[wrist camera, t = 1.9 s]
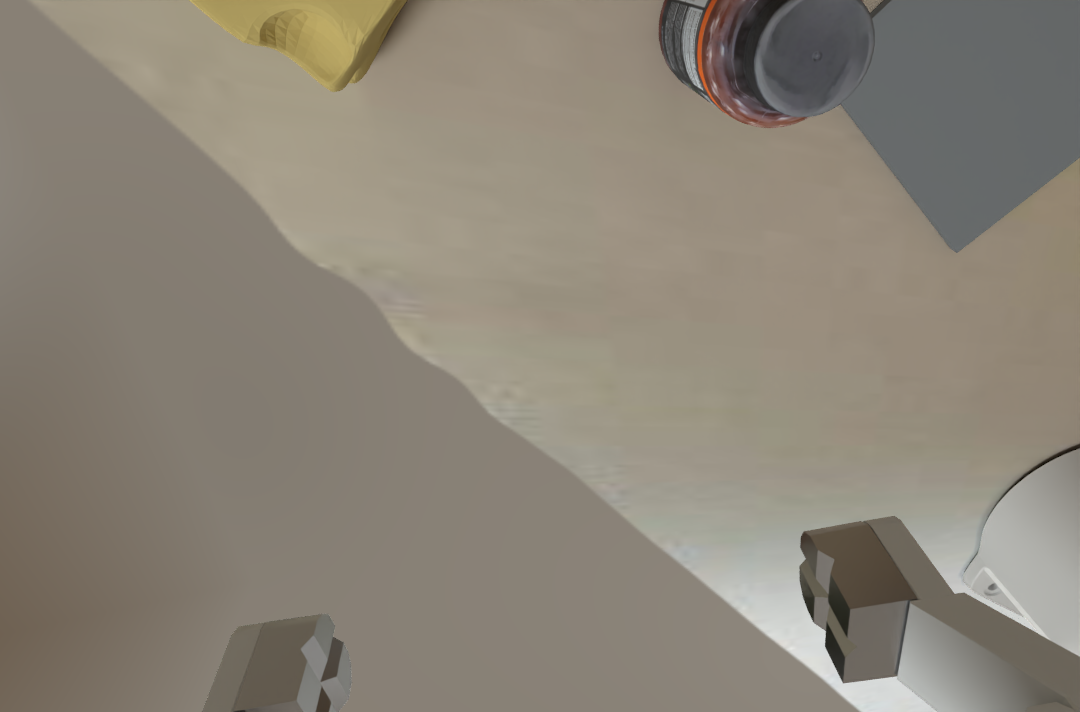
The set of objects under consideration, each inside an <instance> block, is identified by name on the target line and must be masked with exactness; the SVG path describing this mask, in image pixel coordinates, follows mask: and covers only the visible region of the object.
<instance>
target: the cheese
mask: <svg viewBox="0 0 1080 712" xmlns="http://www.w3.org/2000/svg"><path fill="white" fill-rule="evenodd" d="M189 1H191V2H192V3H193V4H194V5H195V6H197V7H198V8H199V9H200V10H201V11H203V12H204V13H205V14H206V15H207V16H208V17H210V18H211V19H212V20H213V21H215V22H216V23H217V24H218V25H220V26H221V27H222V28H223V29H225V30H226V31H227V32H229V33H230V34H232V35H233V36H235V37H236V38H238V39H239V40H241V41H242V42H244V43H248V44H252V45H256V46H265V47H269V48H272V49H275V50H277V51H279V52H281V53H283V54H284V55H286V56H287V57H289V58H290V59H292V60H293V61H294V62H295V63H297V64H298V65H299V66H300V67H302V68H303V69H304V70H305V71H306V72H307V73H309V74H310V75H311V76H312V77H313V78H314V79H315V80H317V81H318V82H319V83H320V84H321V85H323V86H324V87H325V88H327V89H328V90H330V91H332V92H337V91H340V90H342V89H343V88H345V87H346V85H347V84H348V83H357V82H358V81H359V80H361V79H362V78H363V76H364V75H365V74H366V73H367V71H368V69H369V68H370V66H371V64H372V62H373V60H374V58H375V56H376V54H377V52H378V50H379V48H380V46H381V44H382V42H383V40H384V38H385V36H386V34H387V32H388V30H389V28H390V26H391V25H392V23H393V21H394V19H395V18H396V16H397V15H398V13H399V12H400V10H401V9H402V7H403V6H404V4H405V3H406V2H407V0H189Z"/></svg>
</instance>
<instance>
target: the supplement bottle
mask: <svg viewBox="0 0 1080 712" xmlns="http://www.w3.org/2000/svg"><path fill="white" fill-rule="evenodd" d="M659 41H660V46H661V50H662V54H663V56H664V59H665V61H666V63H667V65H668V67H669V68H670V69H671V71H672V72H673V73H674V74H675V75H676V76H677V78H678V79H679V80H680V81H681V82H682V83H684V84H685V85H687V86H688V87H689V88H691V89H692V90H693V91H695V92H696V93H698V94H699V95H700V96H702V97H703V98H705V99H706V100H707V101H708V102H710V103H712V104H713V105H715V106H716V107H717V108H719V109H720V110H721V111H723V112H724V113H726V114H728V115H729V116H731V117H732V118H734V119H736V120H738V121H740V122H742V123H745V124H749V125H752V126H756V127H764V128H776V127H784V126H788V125H792V124H795V123H798V122H800V121H803V120H805V119H807V118H809V117H811V116H817V115H820V114H823V113H825V112H827V111H829V110H831V109H833V108H835V107H836V106H838V105H840V104H841V103H842V102H843V101H844V100H846V99H847V98H848V97H849V96H850V95H851V94H852V93H853V92H854V91H855V89H856V88H857V87H858V86H859V84H860V83H861V81H862V80H863V78H864V76H865V75H866V73H867V70H868V68H869V66H870V63H871V60H872V55H873V53H874V46H875V29H874V26H873V20H872V17H871V15H870V13H869V11H868V9H867V7H866V6H865V4H864V3H863V0H665V1H664V3H663V7H662V10H661V14H660V21H659Z"/></svg>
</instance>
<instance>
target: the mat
mask: <svg viewBox="0 0 1080 712" xmlns="http://www.w3.org/2000/svg"><path fill="white" fill-rule="evenodd" d="M870 15H871V17H872V20H873V26H874V29H875V46H874V53H873V55H872V60H871V63H870V66H869V68H868V70H867V73H866V75H865V76H864V78H863V80H862V81H861V83H860V84H859V86H858V87H857V88H856V89H855V91H854V92H853V93H852V94H851V95H850V96H849V97H848V98H847V99H846V100H844V101H843V102H842V103H841V105H842V107H843V108H844V109H845V111H846V112H847V113H848V115H849V116H850V117H851V119H852V120H853V121H854V122H855V124H856V125H857V126H858V128H859V129H860V130H861V132H862V133H863V134H864V136H865V137H866V138H867V140H868V141H869V142H870V143H871V145H872V146H873V147H874V149H875V150H876V151H877V153H878V154H879V155H880V157H881V158H882V159H883V161H884V162H885V163H886V164H887V166H888V167H889V168H890V170H891V171H892V172H893V174H894V175H895V176H896V178H897V179H898V180H899V182H900V183H901V184H902V185H903V187H904V188H905V189H906V191H907V192H908V193H909V195H910V196H911V197H912V199H913V200H914V201H915V203H916V204H917V205H918V206H919V208H920V209H921V210H922V212H923V213H924V214H925V216H926V217H927V218H928V220H929V221H930V222H931V224H932V225H933V226H934V227H935V229H936V230H937V231H938V233H939V234H940V235H941V237H942V238H943V239H944V241H945V242H946V243H947V245H948V246H949V247H950V248H951V249H952V250H953V251H955V252H956V253H957V252H959V251H960V250H961V249H963V248H964V247H965V246H966V245H968V244H969V243H970V242H972V241H973V240H974V239H975V238H977V237H978V236H979V235H981V234H982V233H983V232H984V231H986V230H987V229H988V228H990V227H991V226H992V225H993V224H995V223H996V222H997V221H999V220H1000V219H1001V218H1002V217H1004V216H1005V215H1006V214H1008V213H1009V212H1010V211H1011V210H1013V209H1014V208H1015V207H1017V206H1018V205H1019V204H1020V203H1022V202H1023V201H1024V200H1026V199H1027V198H1028V197H1030V196H1031V195H1032V194H1033V193H1035V192H1036V191H1037V190H1039V189H1040V188H1041V187H1042V186H1044V185H1045V184H1046V183H1048V182H1049V181H1050V180H1051V179H1053V178H1054V177H1055V176H1057V175H1058V174H1059V173H1060V172H1062V171H1063V170H1064V169H1066V168H1067V167H1068V166H1069V165H1071V164H1072V163H1073V162H1075V161H1076V160H1077V159H1078V158H1080V0H884V1H883V2H882V3H881V4H880V5H879V6H878V7H876V8H875V9H874V10H873V11H872V12H871V13H870Z"/></svg>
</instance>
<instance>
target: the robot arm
mask: <svg viewBox="0 0 1080 712" xmlns="http://www.w3.org/2000/svg"><path fill="white" fill-rule="evenodd" d="M800 548H801V550H802V552H803V554H804V556H805V558H806V559H805V561H804V562H803V563H802V564H801V565H800V585H801V590H802V595H803V598H804V601H805V604H806V607H807V609H808V612H809V614H810V616H811V618H812V620H813V622H814V623H815V624H816V625H818V626H819V627H821V628H822V629H824V630H825V631H826V638H825V647H826V649H827V652H828V654H829V656H830V658H831V660H832V662H833V664H834V666H835V668H836V670H837V672H838V674H839V676H840V678H841V680H842V682H843V683H849V682H857V681H864V680H872V679H880V678H887V677H895V676H897V679H898V680H899V681H900V682H901V683H902V684H904V685H905V686H906V687H907V688H909V689H910V690H911V691H912V692H914V693H915V694H916V695H917V696H919V697H920V698H921V699H922V700H923V701H925V702H926V703H927V704H928V705H930V706H931V707H932V708H933V709H935V710H936V711H937V712H1080V448H1079V449H1077V450H1074V451H1071V452H1069V453H1067V454H1064V455H1062V456H1060V457H1058V458H1056V459H1054V460H1052V461H1050V462H1048V463H1046V464H1045V465H1043V466H1041V467H1040V468H1038V469H1037V470H1035V471H1034V472H1032V473H1031V474H1029V475H1028V476H1026V477H1025V478H1024V479H1023V480H1021V481H1020V482H1019V483H1018V484H1016V485H1015V486H1014V487H1013V488H1012V489H1011V490H1010V491H1009V492H1008V493H1007V494H1006V495H1005V496H1004V497H1003V498H1002V499H1001V501H1000V502H999V503H998V504H997V506H996V507H995V508H994V510H993V511H992V513H991V514H990V516H989V518H988V520H987V522H986V524H985V526H984V529H983V532H982V537H981V543H980V548H979V551H978V554H977V555H976V557H975V558H974V559H973V561H972V562H971V563H970V565H969V566H968V568H967V569H966V571H965V573H964V575H963V582H964V583H965V584H966V585H967V586H968V587H969V588H970V589H971V590H972V591H973V592H974V593H976V594H978V595H980V596H982V597H984V598H986V599H988V600H990V601H992V602H994V603H996V604H998V605H1000V606H1002V607H1004V608H1006V609H1008V610H1010V611H1012V612H1014V613H1016V614H1018V615H1020V616H1022V617H1024V618H1026V620H1027V621H1028V622H1029V623H1030V624H1031V625H1032V627H1033V628H1034V629H1035V630H1036V631H1037V632H1038V633H1036V632H1034V631H1032V630H1031V629H1029V628H1027V627H1025V626H1023V625H1022V624H1020V623H1018V622H1016V621H1014V620H1012V619H1011V618H1009V617H1007V616H1005V615H1003V614H1002V613H1000V612H998V611H996V610H994V609H993V608H991V607H989V606H987V605H985V604H984V603H982V602H980V601H978V600H976V599H975V598H973V597H971V596H969V595H967V594H966V593H958V594H954V593H953V591H952V590H951V588H950V587H949V586H948V584H947V583H946V582H945V580H944V579H943V577H942V576H941V575H940V573H939V572H938V571H937V569H936V568H935V566H934V565H933V564H932V562H931V561H930V560H929V558H928V557H927V555H926V554H925V553H924V551H923V550H922V549H921V547H920V546H919V545H918V543H917V542H916V540H915V539H914V538H913V536H912V535H911V534H910V532H909V531H908V529H907V528H906V527H905V525H904V524H903V523H902V521H901V520H900V519H898V518H897V517H895V516H891V517H885V518H879V519H873V520H867V521H863V522H861V521H859V522H853V523H848V524H842V525H837V526H832V527H826V528H821V529H815V530H810V531H804V532H803V534H802V536H801V544H800ZM334 629H335V625H334V623H333V622H332V620H331V618H330V616H329V615H328V614H319V615H312V616H305V617H298V618H291V619H284V620H277V621H270V622H264V623H258V624H252V625H245V626H239V627H238V628H237V629H236V630H235V631H234V633H233V634H232V635H231V638H230V640H229V643H228V645H227V648H226V650H225V653H224V656H223V658H222V661H221V664H220V666H219V669H218V671H217V674H216V677H215V679H214V682H213V685H212V687H211V690H210V692H209V695H208V698H207V700H206V703H205V705H204V708H203V711H202V712H339V710H340V709H341V708H342V707H343V705H344V704H345V703H346V702H347V700H348V699H349V694H350V688H351V662H350V658H349V654H348V651H347V649H346V647H345V645H344V643H343V642H341V641H340V640H338V639H336V638H334V637H333V633H334Z"/></svg>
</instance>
